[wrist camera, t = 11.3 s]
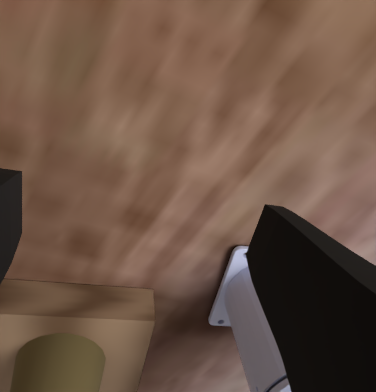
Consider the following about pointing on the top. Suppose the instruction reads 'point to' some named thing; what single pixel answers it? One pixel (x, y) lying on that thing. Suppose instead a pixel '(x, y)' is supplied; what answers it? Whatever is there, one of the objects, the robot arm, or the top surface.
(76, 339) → the cork
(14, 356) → the walnut block
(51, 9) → the top surface
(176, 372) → the top surface
